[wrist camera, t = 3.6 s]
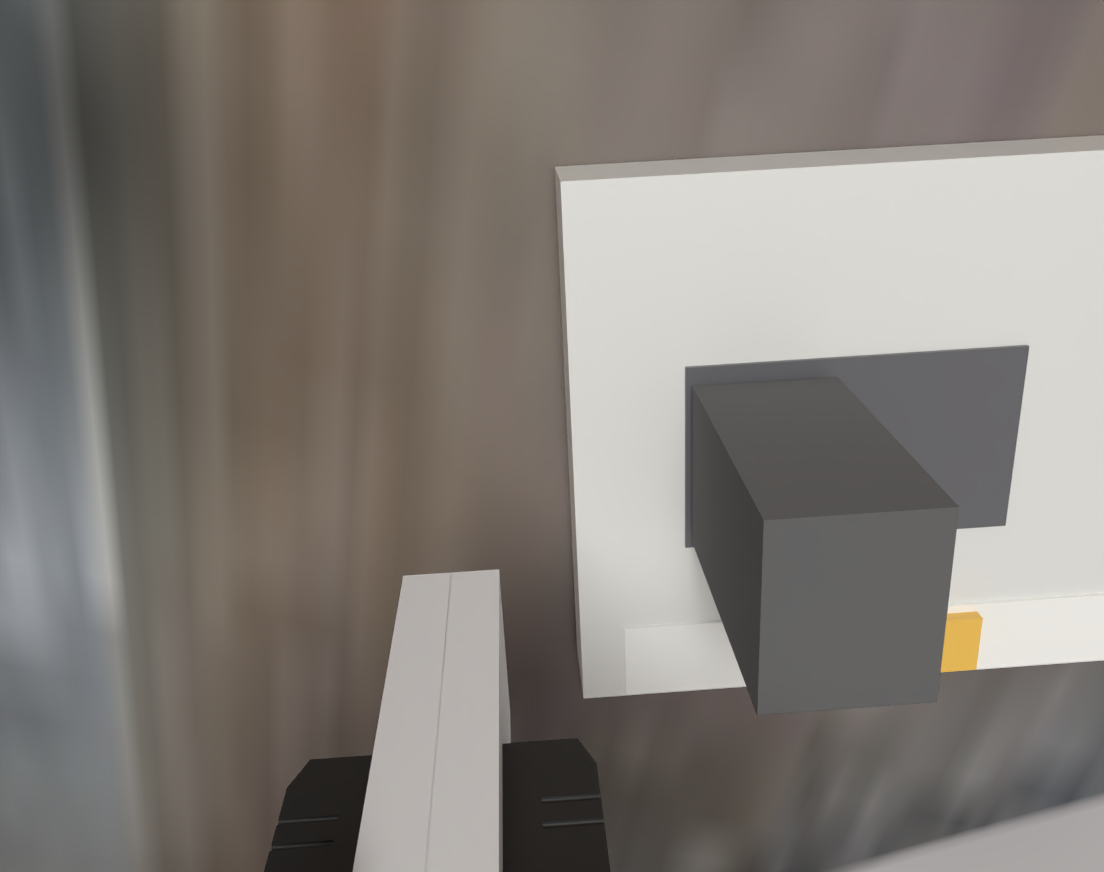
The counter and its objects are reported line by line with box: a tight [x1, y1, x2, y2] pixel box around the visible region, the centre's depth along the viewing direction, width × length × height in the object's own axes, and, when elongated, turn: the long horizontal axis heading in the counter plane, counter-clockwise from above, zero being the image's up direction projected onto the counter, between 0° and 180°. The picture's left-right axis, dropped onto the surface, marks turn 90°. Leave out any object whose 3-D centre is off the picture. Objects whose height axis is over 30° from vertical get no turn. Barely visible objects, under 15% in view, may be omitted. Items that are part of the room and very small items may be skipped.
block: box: [692, 377, 959, 716], centre depth 19 cm, size 3×4×6 cm
